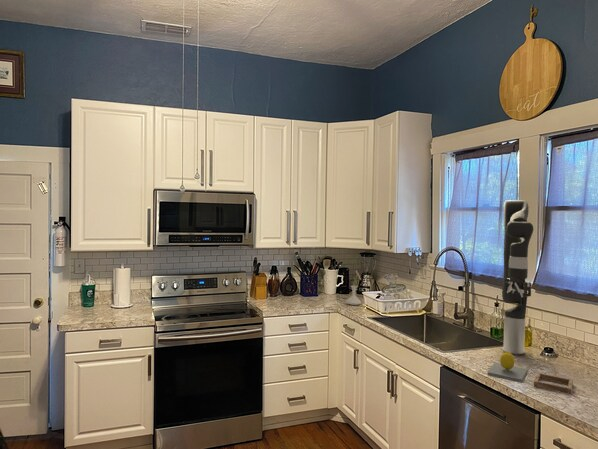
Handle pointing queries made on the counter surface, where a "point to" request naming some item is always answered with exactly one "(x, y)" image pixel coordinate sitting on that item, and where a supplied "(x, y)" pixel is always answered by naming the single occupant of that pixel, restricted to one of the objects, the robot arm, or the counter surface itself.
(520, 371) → the grey rectangular plate
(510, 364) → the lemon
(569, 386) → the walnut collar
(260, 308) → the counter surface
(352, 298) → the flower in vase
